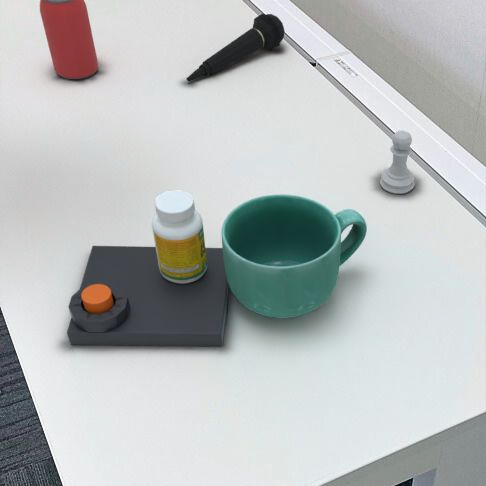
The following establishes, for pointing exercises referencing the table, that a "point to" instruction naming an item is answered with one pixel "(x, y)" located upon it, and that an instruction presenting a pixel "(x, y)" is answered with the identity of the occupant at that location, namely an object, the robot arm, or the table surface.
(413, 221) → the table surface
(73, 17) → the beer can
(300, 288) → the mug
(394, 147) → the chess piece
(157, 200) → the supplement bottle
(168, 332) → the scale
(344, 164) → the table surface
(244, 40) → the microphone
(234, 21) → the table surface
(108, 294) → the button
